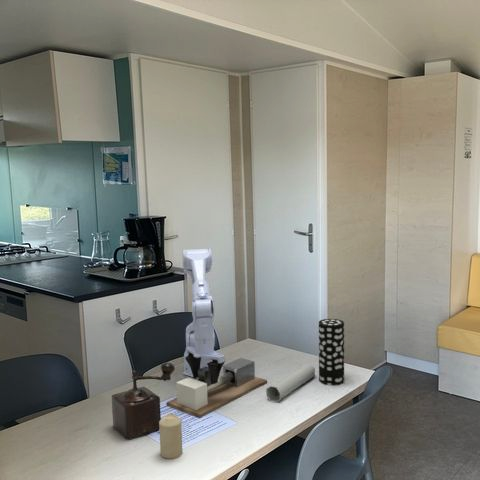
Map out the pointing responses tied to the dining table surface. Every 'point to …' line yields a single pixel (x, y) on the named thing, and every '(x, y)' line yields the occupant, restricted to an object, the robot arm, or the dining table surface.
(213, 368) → the robot arm
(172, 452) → the candle
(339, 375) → the white-spotted black cylinder
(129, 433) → the manual coffee grinder
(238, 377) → the sleeve
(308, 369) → the tube
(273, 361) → the dining table surface
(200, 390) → the cream rectangular block
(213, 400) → the base board
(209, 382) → the inner tube
